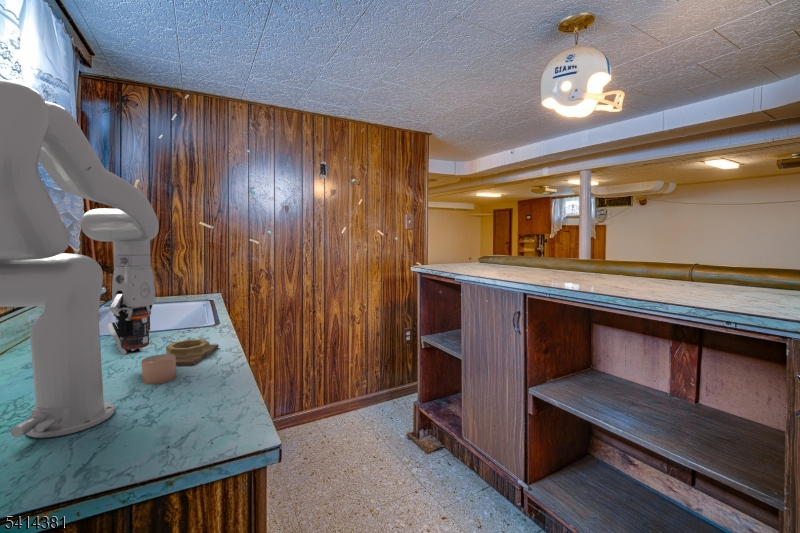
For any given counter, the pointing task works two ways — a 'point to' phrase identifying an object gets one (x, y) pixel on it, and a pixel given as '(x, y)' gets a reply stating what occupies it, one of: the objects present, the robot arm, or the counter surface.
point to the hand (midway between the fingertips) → (134, 332)
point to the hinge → (116, 338)
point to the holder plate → (195, 359)
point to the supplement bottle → (137, 330)
